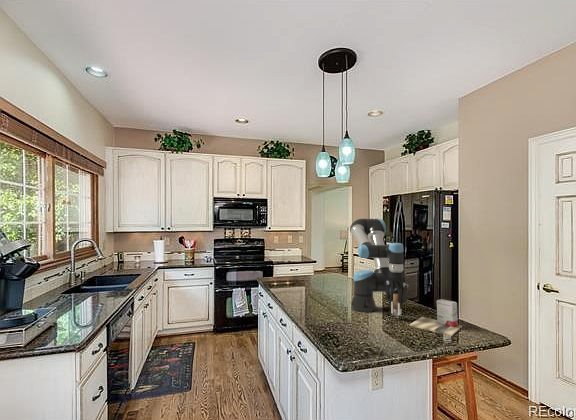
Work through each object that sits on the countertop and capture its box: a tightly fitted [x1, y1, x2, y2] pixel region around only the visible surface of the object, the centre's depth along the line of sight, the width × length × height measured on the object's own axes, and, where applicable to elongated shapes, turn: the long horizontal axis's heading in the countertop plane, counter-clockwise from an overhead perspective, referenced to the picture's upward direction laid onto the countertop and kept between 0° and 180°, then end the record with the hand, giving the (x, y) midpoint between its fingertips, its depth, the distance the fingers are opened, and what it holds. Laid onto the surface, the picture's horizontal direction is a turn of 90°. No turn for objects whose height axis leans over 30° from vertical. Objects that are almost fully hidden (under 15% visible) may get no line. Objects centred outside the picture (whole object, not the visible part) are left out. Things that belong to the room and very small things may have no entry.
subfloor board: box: [409, 316, 463, 337], centre depth 156 cm, size 20×17×1 cm
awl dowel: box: [392, 292, 400, 318], centre depth 167 cm, size 3×3×12 cm
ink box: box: [436, 298, 459, 327], centre depth 157 cm, size 9×5×12 cm, turn 34°
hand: (396, 313), depth 167 cm, fingers closed on awl dowel, 3 cm apart
